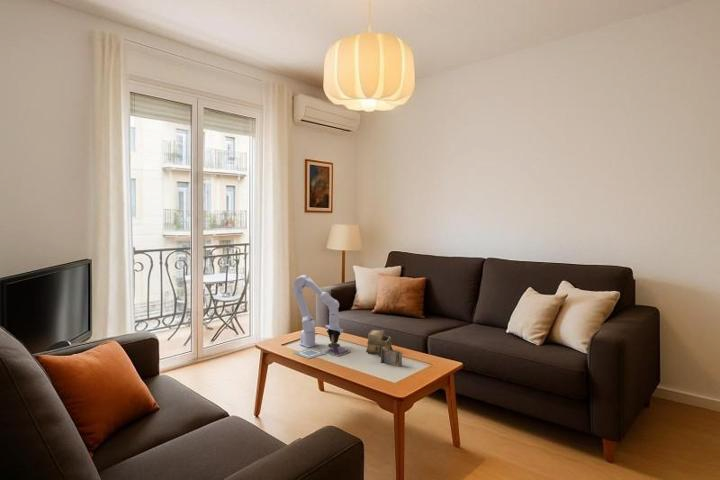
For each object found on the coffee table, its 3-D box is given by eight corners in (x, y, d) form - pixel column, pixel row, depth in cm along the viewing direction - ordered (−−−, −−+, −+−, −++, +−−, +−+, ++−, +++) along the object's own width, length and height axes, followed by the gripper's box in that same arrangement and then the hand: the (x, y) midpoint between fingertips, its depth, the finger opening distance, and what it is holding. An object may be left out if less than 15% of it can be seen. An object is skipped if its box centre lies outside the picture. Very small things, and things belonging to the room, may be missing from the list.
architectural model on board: (380, 363, 233) (380, 346, 232) (383, 362, 235) (383, 344, 235) (399, 367, 227) (399, 349, 226) (401, 365, 230) (401, 348, 229)
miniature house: (364, 354, 246) (364, 335, 245) (369, 347, 260) (369, 329, 259) (389, 356, 242) (389, 337, 242) (393, 349, 256) (393, 330, 256)
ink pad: (324, 352, 250) (324, 350, 250) (338, 348, 258) (338, 345, 258) (337, 356, 243) (337, 354, 242) (350, 352, 250) (350, 350, 250)
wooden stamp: (328, 346, 262) (328, 334, 261) (334, 344, 265) (334, 332, 265) (333, 348, 258) (333, 336, 258) (339, 346, 262) (339, 334, 261)
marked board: (293, 353, 248) (293, 352, 248) (311, 348, 258) (311, 347, 258) (308, 359, 239) (308, 358, 238) (326, 353, 248) (326, 353, 248)
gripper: (346, 321, 258) (346, 342, 259) (331, 317, 268) (331, 338, 269) (338, 323, 253) (338, 345, 254) (322, 319, 263) (322, 340, 264)
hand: (334, 341), depth 261 cm, fingers closed on wooden stamp, 3 cm apart
